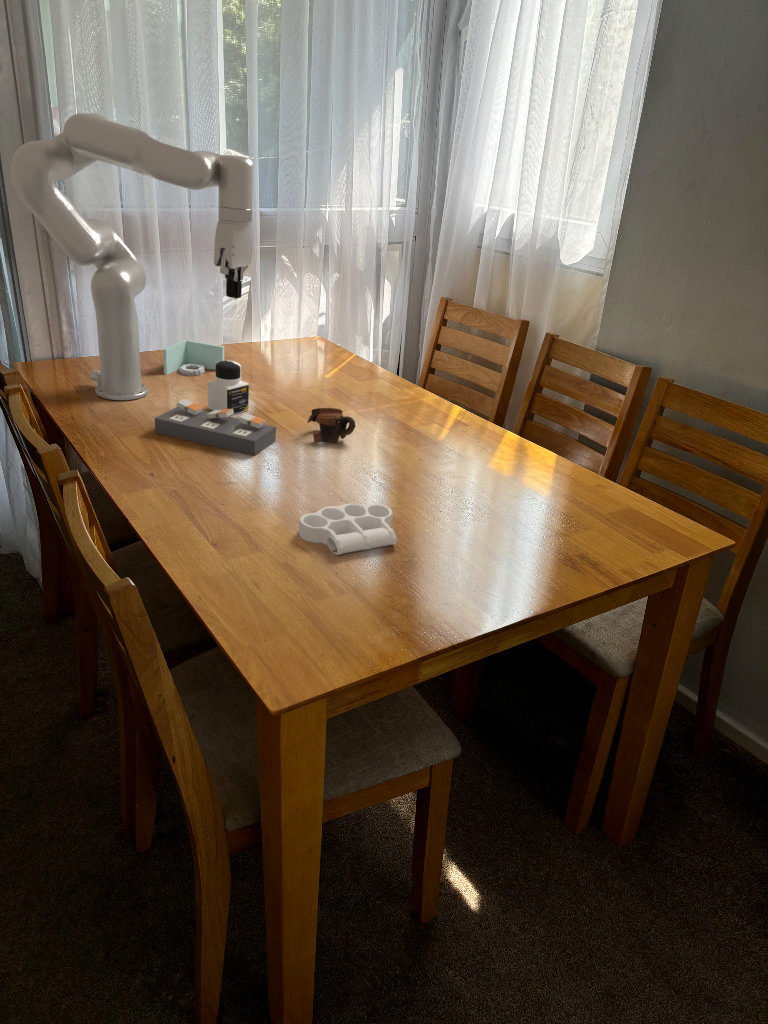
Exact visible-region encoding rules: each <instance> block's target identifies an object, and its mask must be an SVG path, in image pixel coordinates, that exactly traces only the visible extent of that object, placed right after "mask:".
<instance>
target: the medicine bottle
mask: <svg viewBox="0 0 768 1024" xmlns="http://www.w3.org/2000/svg"><path fill="white" fill-rule="evenodd" d="M249 387H250V383H249V382H246V381H243V380H242V365H241V364H240V363H239V362H237V361H234V360H224V361H221V362H218V363H217V364H216V370H215V379H214V380H213V379H212V380H209V381H207V407H208V410H210V411H211V412H212V411H214V410H223V409H233V411H234V414H232V415H230V417H232V416H235V415H237V414H241V413H246V412H248V411H249V406H250V405H249V401H250V399H249V398H250V397H249V392H250V391H249V389H250V388H249Z"/></svg>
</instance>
